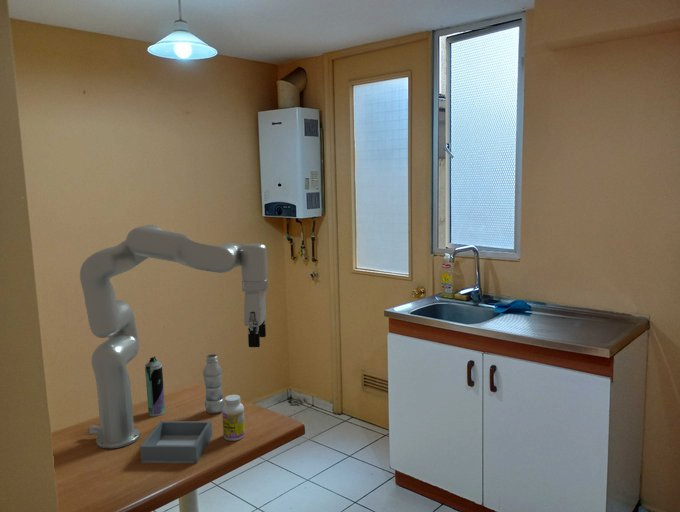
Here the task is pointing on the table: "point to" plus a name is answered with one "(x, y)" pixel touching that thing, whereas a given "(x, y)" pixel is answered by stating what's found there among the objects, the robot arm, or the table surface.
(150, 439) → the box
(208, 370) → the plastic bottle
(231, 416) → the supplement bottle
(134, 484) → the table surface
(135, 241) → the robot arm
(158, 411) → the spray can
